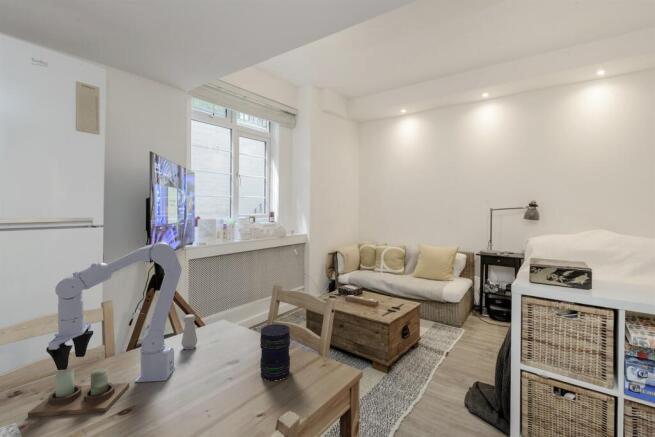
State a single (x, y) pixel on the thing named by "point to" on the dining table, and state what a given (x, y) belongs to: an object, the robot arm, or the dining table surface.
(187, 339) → the salt shaker
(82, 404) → the peg stand
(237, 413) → the dining table surface
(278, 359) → the storage jar
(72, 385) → the loose peg
